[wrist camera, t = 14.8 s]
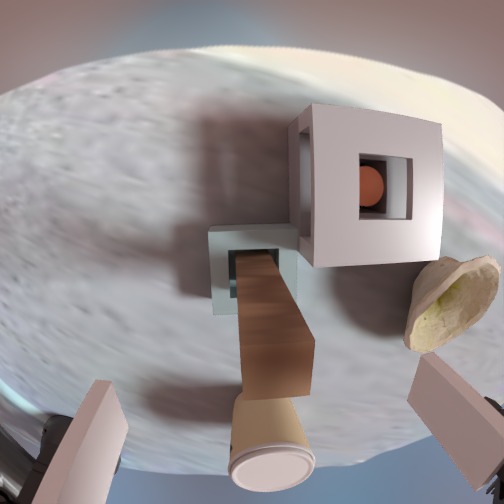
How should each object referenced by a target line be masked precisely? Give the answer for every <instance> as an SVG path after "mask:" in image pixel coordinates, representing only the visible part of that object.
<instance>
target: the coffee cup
mask: <svg viewBox="0 0 504 504" xmlns="http://www.w3.org/2000/svg"><path fill="white" fill-rule="evenodd" d="M314 465H315V457H314V455H313V453H312V451H311V450H310V447H309V444H308V442H307V439H306V437H305V434H304V431H303V429H302V426H301V424H300V421H299V419H298V416H297V414H296V411H295V409H294V406H293V403H292V401H291V399H290V397H289V398H278V399H266V400H251V401H243V392H241V393H240V394H239V395H238V396H237V398H236V400H235V402H234V407H233V418H232V431H231V445H230V462H229V465H228V473H229V475H230V477H231V478H232V480H233V481H234V483H236V484H237V485H238V486H240V487H242V488H244V489H247V490H251V491H258V492H271V491H278V490H283V489H287V488H290V487H293V486H295V485H297V484H299V483H301V482H303V481H304V480H305V479H307V478H308V477H309V476H310V474H311V473H312V471H313V469H314Z"/></svg>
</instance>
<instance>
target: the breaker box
mask: <svg viewBox="0 0 504 504" xmlns="http://www.w3.org/2000/svg"><path fill="white" fill-rule="evenodd" d="M288 160H289V223H290V224H291V225H293V226H294V227H295V228H297V229H298V252H299V253H300V254H301V255H302V256H303V257H304V258H305V259H306V260H307V261H308V262H309V263H310V265H311V266H312V267H313V268H317V267H336V266H354V265H371V264H387V263H402V262H417V261H431V260H439V252H440V243H441V232H442V217H443V191H444V167H443V142H442V128H441V124H439V123H435V122H431V121H427V120H423V119H418V118H413V117H409V116H404V115H398V114H393V113H387V112H381V111H375V110H369V109H362V108H354V107H346V106H336V105H326V104H314V103H312V104H311V105H310V106H309V107H308V108H306V109H305V110H304V111H303V112H302V113H301V114H300V115H299V116H298V117H297V118H296V119H295V120H294V121H293V122H292V123H291V124H290V125H289V126H288ZM359 163H364V165H365V166H369V167H372V168H374V169H375V170H376V171H378V173H379V174H380V175H381V177H382V180H383V184H384V190H383V194H382V196H381V198H380V200H379V201H378V202H377V203H376V204H374V205H372V206H364V209H359Z"/></svg>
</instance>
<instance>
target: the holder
mask: <svg viewBox="0 0 504 504" xmlns="http://www.w3.org/2000/svg"><path fill="white" fill-rule="evenodd" d="M208 245H209V262H210V278H211V292H212V305H213V315H233V314H238V305H237V285H236V261H235V250H246V249H268V251H269V253H270V255H271V257H272V259H273V261H274V263H275V264H276V266H277V268H278V270H279V272H280V274H281V276H282V278H283V280H284V282H285V283H286V285H287V287H288V289H289V291H290V293H291V295H292V297H293V299H294V301H295V302H296V299H297V256H298V229H297V228H295V227H294V226H293V225H291V224H290V223H274V224H241V225H215V226H211V227H210V229H209V231H208Z"/></svg>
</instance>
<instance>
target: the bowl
mask: <svg viewBox="0 0 504 504" xmlns="http://www.w3.org/2000/svg"><path fill="white" fill-rule="evenodd" d="M500 272H501V266H500V265H499V266H498V264H497V262H496V260H495V258H492V257H490V256H489V255H485V256H484V257H479V258H475V259H472V260H470V261H466V262H459V261H457V260H455V259H453V258H450V257H447V256H445V257H442V258H439V260H433V261H431V262H430V263H429V264H428V265H427V266H425V267H424V268H423V270H422V271H421V272H420V274H419V275H418V277H417V278H416V279H415V282H414V284H413V288H412V301H411V306H410V309H409V315H408V320H407V326H406V330H405V334H404V338H403V341H404V344H405V346H406V347H408V349H410V350H413V351H416V352H421V353H426V352H430V351H431V350H434V349H436V348H438V347H439V346H442V345H444V344H446V343H447V342H448V341H450V340H452V339H454V338H455V337H457V336H459V335H460V334H462V333H463V332H465V331H466V330H467V329H468V328H469V327H470V326H472V325H473V324H475V323H476V322H477V321H478V320H480V319H481V318H482V317H483V315H484V314H485V313H486V311H487V309H488V308H489V306H490V304H491V303H492V301H493V300H494V298H495V296H496V294H497V290H498V283H499V276H500Z"/></svg>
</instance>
